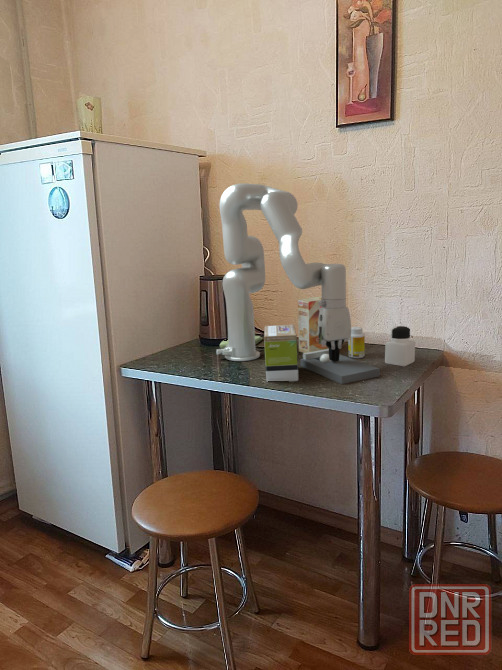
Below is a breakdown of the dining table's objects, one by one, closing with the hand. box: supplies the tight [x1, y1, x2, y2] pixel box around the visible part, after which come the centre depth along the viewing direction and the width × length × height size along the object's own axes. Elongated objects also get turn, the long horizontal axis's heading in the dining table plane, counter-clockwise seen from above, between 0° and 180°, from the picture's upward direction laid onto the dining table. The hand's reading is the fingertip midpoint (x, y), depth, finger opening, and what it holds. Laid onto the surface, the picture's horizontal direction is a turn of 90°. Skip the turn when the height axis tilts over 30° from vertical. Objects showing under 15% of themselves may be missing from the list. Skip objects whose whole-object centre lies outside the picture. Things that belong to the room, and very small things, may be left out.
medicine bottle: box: [384, 325, 416, 367], centre depth 172 cm, size 7×7×12 cm
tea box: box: [263, 324, 299, 383], centre depth 164 cm, size 15×10×15 cm, turn 178°
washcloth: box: [219, 335, 264, 349], centre depth 208 cm, size 13×18×3 cm
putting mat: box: [300, 349, 381, 385], centre depth 165 cm, size 14×23×16 cm, turn 26°
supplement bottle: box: [347, 326, 366, 359], centre depth 182 cm, size 6×6×10 cm
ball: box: [320, 354, 332, 363], centre depth 173 cm, size 4×4×4 cm
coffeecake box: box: [297, 295, 342, 354], centre depth 192 cm, size 15×7×20 cm, turn 120°
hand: (334, 360), depth 168 cm, fingers closed
